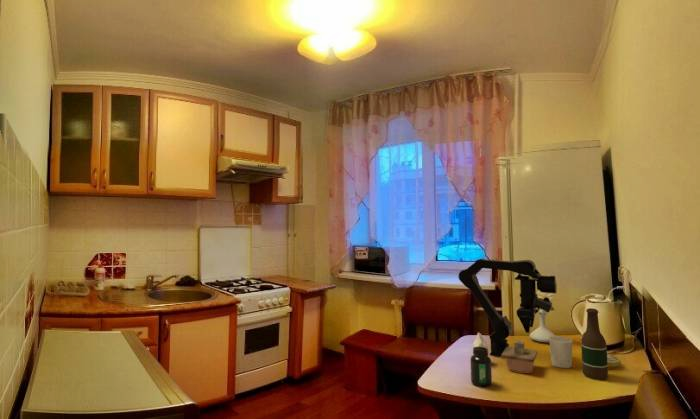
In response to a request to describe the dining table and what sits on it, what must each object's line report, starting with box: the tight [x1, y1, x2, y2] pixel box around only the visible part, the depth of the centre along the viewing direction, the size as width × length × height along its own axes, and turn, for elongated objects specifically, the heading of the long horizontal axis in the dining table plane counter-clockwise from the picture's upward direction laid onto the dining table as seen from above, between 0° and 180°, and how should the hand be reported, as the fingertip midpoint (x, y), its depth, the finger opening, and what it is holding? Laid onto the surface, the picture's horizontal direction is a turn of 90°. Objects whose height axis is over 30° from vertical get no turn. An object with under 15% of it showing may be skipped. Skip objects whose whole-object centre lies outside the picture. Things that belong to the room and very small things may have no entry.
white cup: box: [548, 335, 573, 369], centre depth 146 cm, size 8×8×10 cm
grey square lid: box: [500, 340, 538, 363], centre depth 144 cm, size 11×11×5 cm
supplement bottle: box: [470, 347, 493, 388], centre depth 131 cm, size 7×7×12 cm
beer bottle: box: [580, 307, 609, 381], centre depth 136 cm, size 8×8×24 cm
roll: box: [472, 332, 489, 350], centre depth 150 cm, size 6×12×6 cm
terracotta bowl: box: [505, 358, 535, 374], centre depth 144 cm, size 9×9×5 cm
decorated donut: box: [607, 353, 622, 370], centre depth 146 cm, size 10×11×4 cm
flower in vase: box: [529, 290, 556, 343], centre depth 175 cm, size 13×11×25 cm
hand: (529, 329), depth 153 cm, fingers open, 9 cm apart
